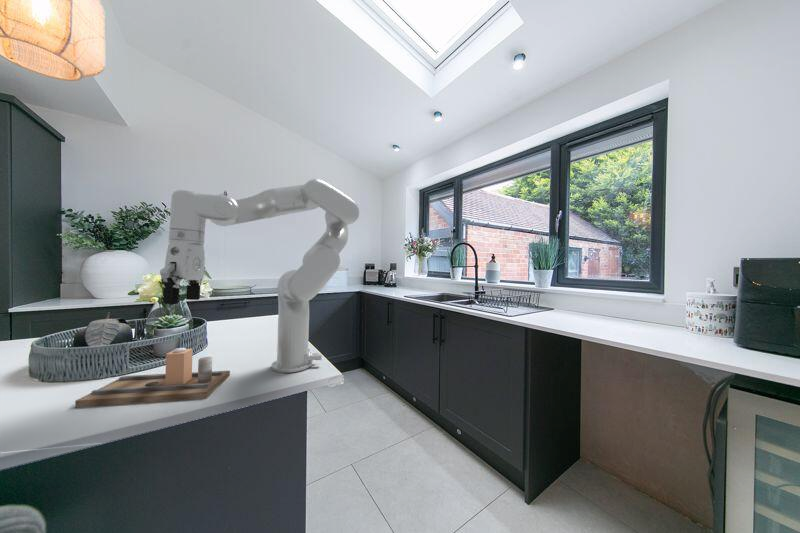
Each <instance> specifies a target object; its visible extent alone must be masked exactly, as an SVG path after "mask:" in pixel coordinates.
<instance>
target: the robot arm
mask: <svg viewBox="0 0 800 533" xmlns="http://www.w3.org/2000/svg"><path fill="white" fill-rule="evenodd" d="M318 208H320V209H322V210H323V211H325V213H324V218H325V224H326V230H325V231H324V233H323V234H322V236H320V238H319V239H318V240H317V241H316V242H315V243H314V244H313V245H312V246H311V247H310V248H309V249H308V250H307V251H306V252H305V253H304V255H303V257H302V261H301V262H302V265H300V267H299V268H297V269H293V270H292V269H291V270H289V271H286V272H284V273H282V275H281V276H280V278H279V279H278V282H277V301H278V307H277V308H278V311H277V312H278V313H277V315H278V316H277V342H276V343H277V345H276V346H277V350H276V360H275V361H273V362H272V364H271V370H273V371H274V372H278V373H282V374H283V373H284V374H285V373H286V374H288V373H297V372H301V371H304V370H307V369H309V368H310V367H312V366H313V363H314V361H322V359H323V358H322V357H323V354H322V353H319V352H311V349H310V348H309V332H310V330H309V329H310V328H309V327H310V325H309V324H310V300H312V299H313V298H315V297H316V296H317V295H318V294H319V292H321V291H322V289H323V288H324V287H325V286H326V285H327V284H328V283H329V281H330V280H331V279H332V277H333V276H334V275H335V274H336V273H337V271H338V269H339V268H340V264H341V257H340V253H341V252H342V251H343V249H344V248H345V247H346V245H347V244H348V239H349V229H348V228H349V227H348V225H351V224H354V223H355V222H357V220H358V219H359V216H360V208H359V206H358V204H357V203H356V202H355V201H354V200H353V199H352V198H350V197H349V196H347V195H346V194H344V193H343V192H342V191H340V190H338V189H337V188H336V187H334V186H333V185H331V184H329V183H328V182H326V181H324V180H321V179H318V178H313V179H309V180H308V181H306V183H304V184H300V185H299V184H298V185H291V186H290V185H289V186H283V187H274V188H269V189H265V190H263V191H261V192H259V193H257V194H255V195H252V196H248V197H245V198H239V199H233V198H232V197H231V196H230V197H229V196H228V195H223V194H208V193H207V194H205V193H200V192H195V191H192V190H185V189H184V190H183V189H179V190H174V191H173V192H172V194H171V202H170V213H169V214H170V215H169V226H168V227H169V228H168V240H167V241H168V246H167V248H166V249H167V250H166V256H165V262H164V267H163V268H161V269H160V270H159V274H160V277H161V279H160V281H161V283H162V284H161V285H162V288H163V294H162V304H165V305H178V304H179V303H180V302H179V301H180V287H179V285H180V284H181V282H182V280H184V281H187V283H188V285H186V292H185V293H186V294H185V299H186V300H189V301H191V300H192V301H198V300H200V296H201V286H202V283H203V282H202V280H204V278H205V268H206V267H205V266H206V265H205V264H206V262H205V260H206V259H205V235H206V221H207V220H210V222H212V223H213V224H215V225H217V226H221V227H229V226H232V225H233V226H234V225H240V224H243V223H246V224H247V223H251V222H255V221H259V220H264V219H266V220H267V219H271V218H275V217H280V216H285V215H289V214H290V215H291V214H295V213H300V212H301V213H302V212H308V211H313V210H316V209H318Z"/></svg>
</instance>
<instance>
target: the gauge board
mask: <svg viewBox="0 0 800 533" xmlns="http://www.w3.org/2000/svg"><path fill="white" fill-rule="evenodd" d="M197 361H198V364H197V365H198V366H197V371H194V372H193V371H192V378H191V379H190V380H189V381H187V382H186V383H185V384H183V385H168V386H165V375H166V373H157V374H156V373H155V374H138V375H137V374H136V375H124V376H120V377H119V378H118V379H115V380H114V381H111V382H110V383H108V384H106V385H104V386H102V387H100V388H98V389H94V390H92V391H91V392H90V393H88V394H86V395H84V396H82V397H80V398H78V399H76V400H75V404H74V407H75V408H86V407H98V406H99V407H100V406H101V407H102V406H112V405H128V404H129V405H130V404H144V403H156V402H157V403H159V402H171V401H172V402H173V401H185V400H198V399H199V400H201V399H202V400H203V399H208V397H209V396H210V395H212V394H213V393H214V392H215V391H216V390H217V389H218V388H219V387H220V386H221V385H222V384H223V383H224V382H225V381H226V380H227V379H228V378H229V377H230V375H231V371H230V370H215V371H214V370H213V357H212V356H204V357H200V358H198V360H197Z"/></svg>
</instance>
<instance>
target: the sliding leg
mask: <svg viewBox="0 0 800 533" xmlns="http://www.w3.org/2000/svg"><path fill="white" fill-rule="evenodd" d="M193 351H194V350H193V348H186V347H177V348H174V349H173V350H171V351H170V352H167V353H165V374H166V375H165V386H168V385H183V384H185V383H186V382H187V381H189V380H190V379H191V378H192V372H193Z"/></svg>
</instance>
